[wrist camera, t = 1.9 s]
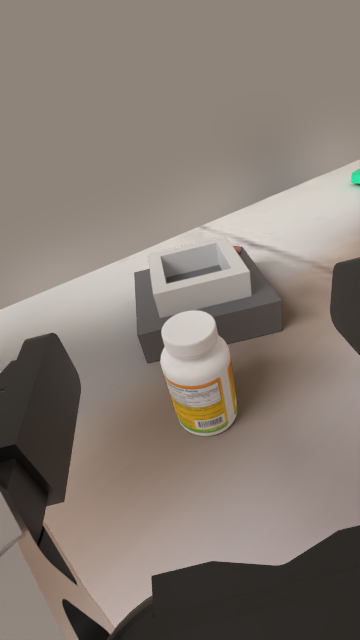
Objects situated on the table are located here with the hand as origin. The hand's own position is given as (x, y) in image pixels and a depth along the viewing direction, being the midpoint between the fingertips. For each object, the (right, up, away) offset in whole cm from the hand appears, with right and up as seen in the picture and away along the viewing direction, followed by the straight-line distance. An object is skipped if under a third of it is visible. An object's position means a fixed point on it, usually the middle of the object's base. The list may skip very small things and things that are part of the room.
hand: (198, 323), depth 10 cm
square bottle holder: (+2, +1, +32) cm, 32 cm away
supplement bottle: (+2, -8, +20) cm, 22 cm away
